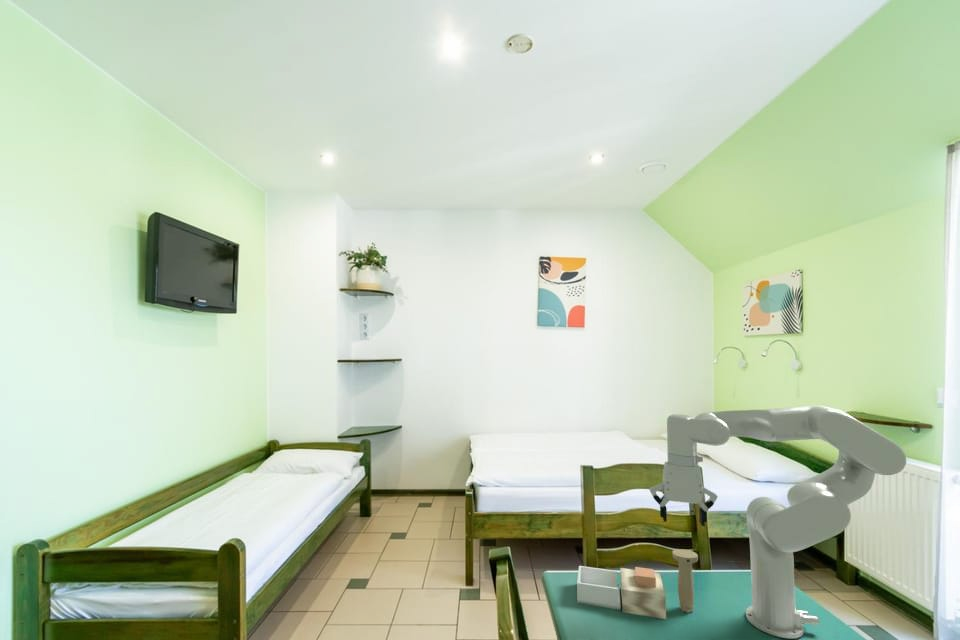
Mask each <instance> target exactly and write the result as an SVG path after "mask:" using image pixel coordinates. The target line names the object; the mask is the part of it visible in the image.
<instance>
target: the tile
mask: <svg viewBox="0 0 960 640" xmlns="http://www.w3.org/2000/svg"><path fill="white" fill-rule="evenodd" d="M634 570H635V577H636V584H637V585H642V586H648V587H655V588H656V577H655V573H656V572H655V569H653V568H646V567H641V566H640V567H639V566H635V567H634Z"/></svg>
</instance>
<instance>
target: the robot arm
mask: <svg viewBox="0 0 960 640" xmlns="http://www.w3.org/2000/svg"><path fill="white" fill-rule="evenodd" d="M731 437H734V438H735V437H740V438H750V439H755V440H758V441H765V442H773V443H775V442H787V441H788V442H789V441H801V440H802V441H803V440H804V441H805V440H820V441H821V440H822V441H824V442H827V443H828V444H830V445H831V446H833V447H834V448H835V449H837V451H838V456H837V460H836V462H835V463H834V464H833V465H832V466H831V467H829V468H828V469H826V470H824V471H822V472H821V473H818V474H816V475H814V476H811V477H810V478H807V479H804V480H803V481H800V482H798V483H796V484H794V485H793V486H791V487H790V488H789V489H788V491H787V495H786V496H787V497H786V498H787V502H788V503H789V506H788V507H786V506H784V504H782V503H781V502H780V501H778V500H776V499H774V498H771V497H767V496H760V497H756V498H754V499H752V500H751V501H750V502H749V504H748V505H747V508H746V523H747V530H748V536H749V537H748V538H749V551H750V554H749V555H750V557H749V558H750V581H751V582H750V583H751V584H750V585H751V605H750V606H748V607H746V608H745V617H746V619H747V620H748V621H749V623H750V624H751V625H752V626H754V627H755V628H757V630H760V631H762V632H764V633H766V634H769V635H771V636H774V637H777V638H783V639H790V640H791V639H798V638H801V637H802V636H803V635H805V634H804V633H805V628H804V627H805V626H804V625H805V624H808V625H813V626H819V625H820V622H819V621H820V620H819V618H818V617H817V616H815V615H810V614H809V612H808V611H807V610H799V609H797V608H796V589H795V562H794V561H795V560H794V553H795V552H799V551H802V550H805V549H808V548H810V547H812V546H814V545H817V544H819V543H822V542H823V541H826V540H829V539H831V538H833V537H836V536H837V535H839V534H841V533H843V532H844V531H845V530H846V529H847V527H848V526H849V524H850V522H851V519H852V518H851V515H852V514H851V509H850V507H849V506H848V505H850V504H852V503H854V502H856V501H858V500H859V499H862V498H863V497H865V496H866V495H867V494H868V493H869V491H870V490H871V489H872V486H873V484H874V481H875V477H876V474H878V475H879V476H881V475H882V476H893V475H896V474H899V473H901V472H902V471H903V470H904V469H905V467H906V464H907V457H906V453H905V452H904V451H903V449H902V448H901V446H899V445H898V444H897V443H896V442H894V441H893V440H891V439H889V438H887V437H886V436H884V435H883V434H881V433H880V432H877V431H876V430H874V429H873V428H871V427H869V426H868V425H866V424H865V423H863V422H861V421H859V420H858V419H856V418H854V417H853V415H852V416H851V415H850V414H848V413H846V412H844V411H842V410H840V409H836V408H832V407H828V406H825V405H803V406H793V407H792V406H790V407H782V408H781V407H779V408H769V409H768V408H767V409H764V408H763V409H746V410H743V409H741V410H739V409H737V410H736V409H735V410H723V411H722V410H721V411H710V412H703V413H699V414H698V415H697V416H695V417H694V416H691V415H688V414H670V415H669V416H668V417H667V419H666V439H667V442H666V443H667V445H666V446H667V450H666V451H667V461H664V464H663V471H662V482H661V483H658V484H656V485H653V486H650V487H649V492H650V494H651V496H652V498H653V499H654V500H655V502H657V504H658V505H659V516H660V518H662V520H663V522H665V523H666V522H668V521H667V520H668V519H667V516H668V515H667V510H668V509H667V504H668V503H670V502H676V503H678V502H679V503H687V504H698V505H699V506H700V507H699V508H698V509H699V510H698V511H699V512H698V513H699V514H698V515H699V517H698V518H699V524H700V525H701V526H702V527H705V526H706V525H705V524H706V523H707V522H708V511H709V509H711V508H712V507H713V506H714V504H715V502H716V501H717V499H718V495H717V494H716V493H715V492H713V491H711V490H710V489H708V488H706V487H705V486H704V485H703V479H702V477H703V476H702V471H701V468H700V465H699V463H703V456H700V455H698V450H697V449H698V447H697V445H698V444H702V445H708V446H715V447H716V446H717V447H718V446H722V445H725V444H726V443H728V441H729V439H730V438H731ZM658 491H662V494H663V495H662V496H661V497H660V496H659V495H658V494H657V492H658ZM704 494H705V495H707V496H709V498H708V499H707V500H706V501H705V502H704Z"/></svg>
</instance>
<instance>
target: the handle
mask: <svg viewBox="0 0 960 640" xmlns="http://www.w3.org/2000/svg"><path fill="white" fill-rule="evenodd" d="M671 553H672V557H673V559H674V560H675V561H677V562H678V577H677V578H678V579H677V595H678V602H679V608H680V609H681V611H682V612H685V613H688V614H691V613H692V612H693V611H694V602H695V601H694V600H695V586H694V577H693V564H695V563H698V561H699V554H698V553H697V552H694V551H692V550H688V549H673V550H672V552H671Z"/></svg>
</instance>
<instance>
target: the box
mask: <svg viewBox="0 0 960 640" xmlns="http://www.w3.org/2000/svg"><path fill="white" fill-rule="evenodd" d="M617 572H618V571H617V570H612V569H606V568H598V567H591V566H583V565H579V566H578V571H577V581H576V597H577V598H576V600H577V601H576V603H577V604H582V605H589V606H595V607H600V608H601V607H602V608H606V609H613V610H620V611H621V591H620V584H618V573H617Z"/></svg>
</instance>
